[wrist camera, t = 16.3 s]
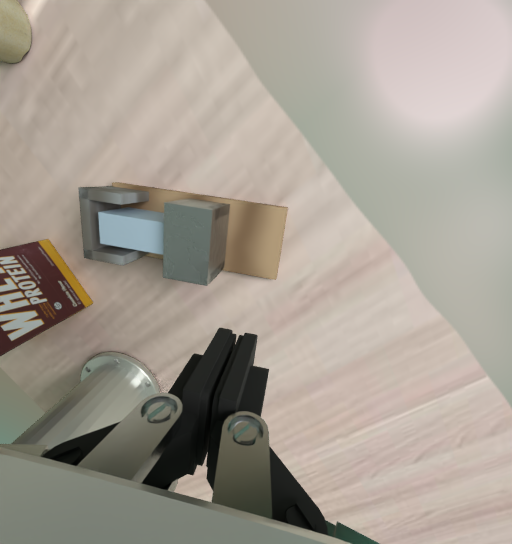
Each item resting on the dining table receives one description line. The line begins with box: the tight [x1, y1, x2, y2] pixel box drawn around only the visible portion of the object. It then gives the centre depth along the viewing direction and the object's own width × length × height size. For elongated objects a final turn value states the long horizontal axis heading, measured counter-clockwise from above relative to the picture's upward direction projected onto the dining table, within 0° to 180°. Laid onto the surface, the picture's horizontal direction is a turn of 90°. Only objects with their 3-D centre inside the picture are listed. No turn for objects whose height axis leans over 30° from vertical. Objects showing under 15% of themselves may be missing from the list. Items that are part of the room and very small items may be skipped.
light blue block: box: [98, 207, 164, 255], centre depth 30 cm, size 10×3×5 cm, turn 83°
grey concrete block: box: [163, 198, 230, 286], centre depth 29 cm, size 4×7×6 cm, turn 173°
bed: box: [79, 183, 288, 280], centre depth 30 cm, size 20×8×6 cm, turn 83°
